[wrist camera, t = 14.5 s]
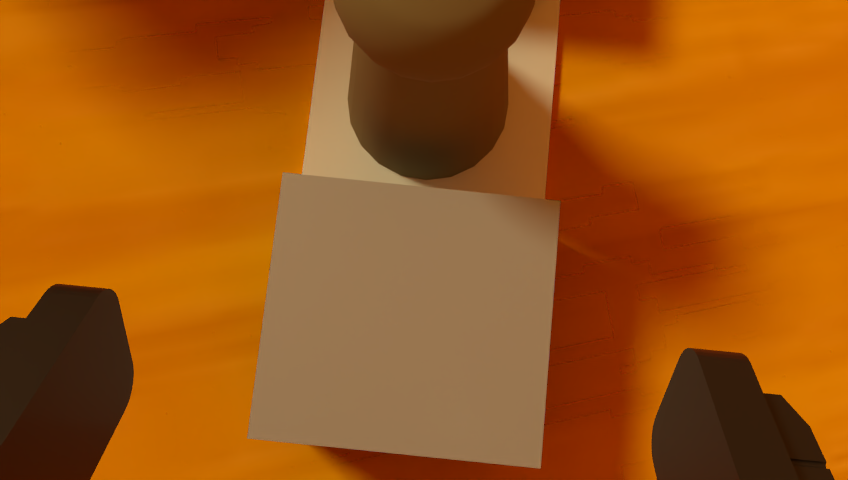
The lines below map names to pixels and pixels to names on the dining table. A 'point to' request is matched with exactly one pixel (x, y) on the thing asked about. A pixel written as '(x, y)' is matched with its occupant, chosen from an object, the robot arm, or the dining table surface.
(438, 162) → the cork
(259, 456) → the dining table surface
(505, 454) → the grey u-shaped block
